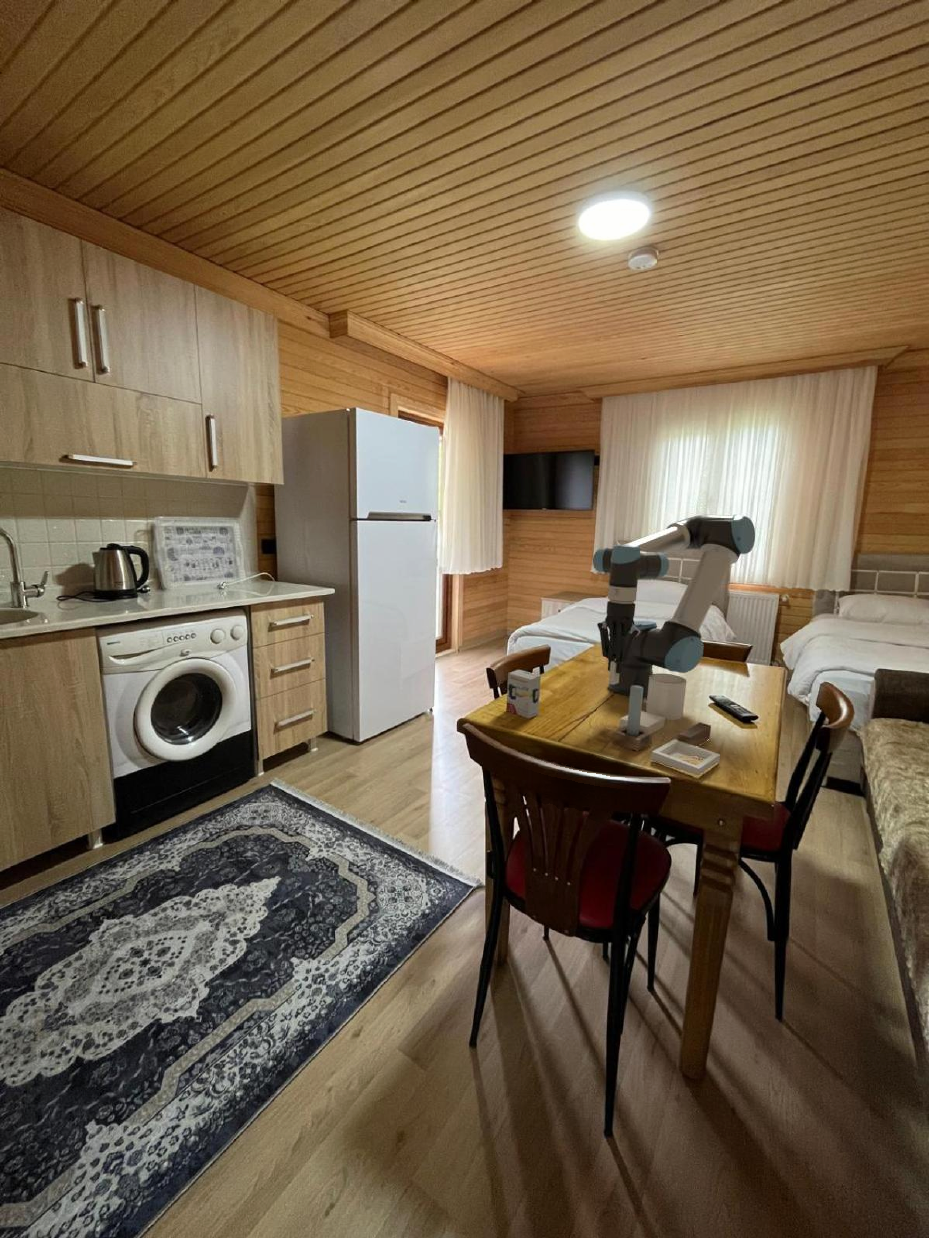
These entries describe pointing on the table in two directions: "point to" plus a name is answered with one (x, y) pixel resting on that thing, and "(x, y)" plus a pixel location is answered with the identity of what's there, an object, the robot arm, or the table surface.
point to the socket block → (632, 739)
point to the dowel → (634, 710)
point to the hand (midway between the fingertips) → (613, 683)
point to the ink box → (523, 693)
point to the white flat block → (646, 722)
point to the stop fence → (695, 734)
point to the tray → (678, 748)
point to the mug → (666, 696)
